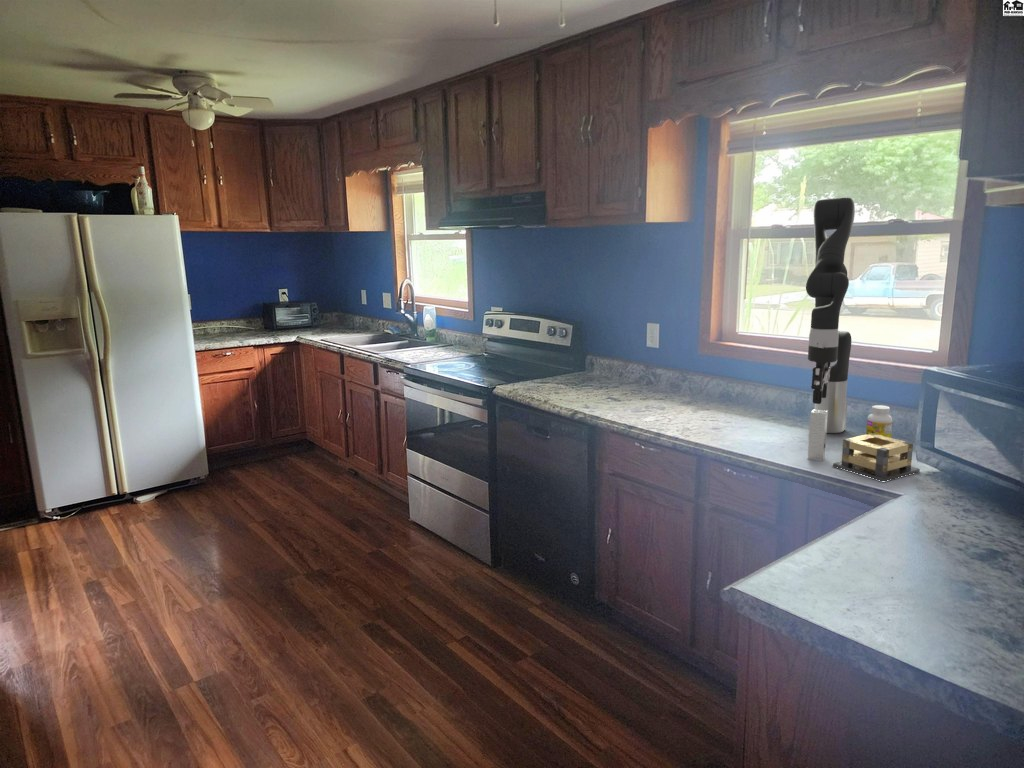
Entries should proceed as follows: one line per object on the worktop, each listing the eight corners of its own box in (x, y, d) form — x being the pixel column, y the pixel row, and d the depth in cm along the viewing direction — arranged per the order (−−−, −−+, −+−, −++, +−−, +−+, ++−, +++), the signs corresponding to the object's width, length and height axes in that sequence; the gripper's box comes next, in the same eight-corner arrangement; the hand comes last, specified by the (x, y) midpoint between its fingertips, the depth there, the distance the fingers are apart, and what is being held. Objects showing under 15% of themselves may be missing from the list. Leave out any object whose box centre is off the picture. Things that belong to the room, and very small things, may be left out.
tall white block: (810, 455, 195) (812, 409, 192) (825, 457, 193) (828, 410, 190) (807, 459, 192) (810, 412, 189) (823, 461, 189) (826, 413, 187)
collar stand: (868, 457, 191) (870, 431, 189) (919, 472, 178) (922, 443, 176) (832, 466, 184) (834, 439, 183) (883, 482, 171) (885, 453, 170)
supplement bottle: (859, 446, 201) (862, 405, 199) (876, 443, 204) (879, 403, 201) (878, 452, 195) (882, 410, 193) (895, 449, 198) (898, 407, 195)
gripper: (813, 340, 193) (809, 394, 197) (804, 346, 182) (800, 404, 185) (841, 341, 189) (837, 397, 192) (834, 348, 178) (829, 406, 181)
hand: (819, 400), depth 189 cm, fingers open, 8 cm apart
